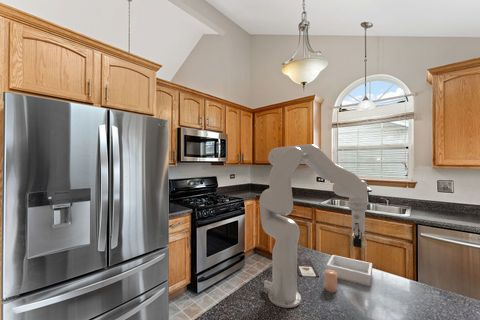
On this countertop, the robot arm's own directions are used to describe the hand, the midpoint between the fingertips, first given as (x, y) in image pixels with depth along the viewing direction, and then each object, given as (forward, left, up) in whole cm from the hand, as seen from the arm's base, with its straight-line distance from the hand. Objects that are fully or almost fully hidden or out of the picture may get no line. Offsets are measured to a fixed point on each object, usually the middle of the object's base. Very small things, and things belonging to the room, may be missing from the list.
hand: (358, 244), depth 106 cm
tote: (-4, 0, -15) cm, 15 cm away
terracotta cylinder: (-9, -18, -15) cm, 25 cm away
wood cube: (0, 0, -1) cm, 1 cm away
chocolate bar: (-24, -5, -16) cm, 29 cm away
